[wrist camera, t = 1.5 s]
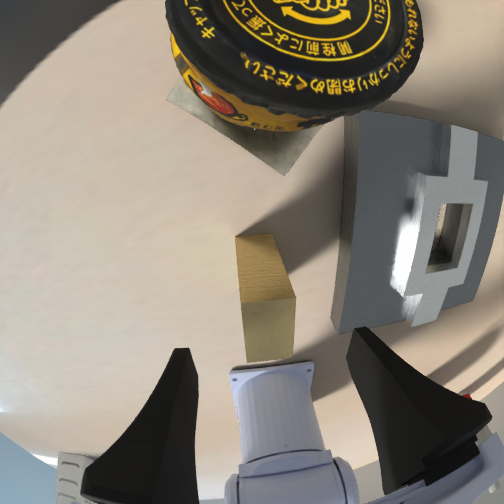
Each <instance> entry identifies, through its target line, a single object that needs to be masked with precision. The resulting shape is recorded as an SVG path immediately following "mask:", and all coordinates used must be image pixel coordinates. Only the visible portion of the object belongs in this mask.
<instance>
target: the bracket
mask: <svg viewBox="0 0 504 504" xmlns="http://www.w3.org/2000/svg"><path fill="white" fill-rule="evenodd" d="M477 137H478V132H476V131H473V130H470V129H466V128H462V127H459V126H455V125H451V124H445V123H442V126H441V149H440V163H439V173H428V172H417V181H416V191H415V199H414V206H413V213H412V220H411V226H410V232H409V237H408V243H407V248H406V253H405V257H404V262H403V266H402V271H401V275H400V279H399V283H398V287H397V291H398V292H399V294H400V295H401V296H402V297H403V298H404V297H409V296H413V295H414V296H413V299H412V302H411V306H410V309H409V312H408V315H407V318H406V321H407V322H408V324H409V325H410V327H414V326H418V325H421V324H425V323H428V322H432V321H435V320H436V319H437V317H438V314H439V312H440V309H441V307H442V304H443V301H444V299H445V296H446V293H447V290H448V288H449V287H453V286H457V285H461V284H463V283H464V280H465V277H466V274H467V271H468V267H469V264H470V261H471V258H472V254H473V251H474V247H475V243H476V240H477V236H478V231H479V227H480V223H481V218H482V213H483V208H484V203H485V197H486V191H487V185H488V181H486V180H484V179H481V178H478V177H474V173H475V164H476V153H477ZM440 203H464V206H463V211H462V216H461V221H460V226H459V231H458V235H457V239H456V243H455V247H454V251H453V255H452V259H451V262H447V263H442V264H436V265H429V266H427V264H428V260H429V256H430V252H431V248H432V244H433V239H434V234H435V230H436V225H437V219H438V214H439V208H440Z"/></svg>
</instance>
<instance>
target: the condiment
mask: <svg viewBox="0 0 504 504" xmlns="http://www.w3.org/2000/svg"><path fill="white" fill-rule="evenodd" d="M165 7H166V19H167V21H168V24H169V28H170V30H171V37H170V41H171V49H172V53H173V56H174V60H175V62H176V66H177V68H178V69H179V72H180V74H181V75H182V76H181V78H180V79H179V80H178V82H177V83H176V84H175V86H174V87H173V88H172V90H171V91H170V93H169V94H168V96H167V97H166V100H168V101H170V102H171V103H173V104H175V105H177V106H178V107H180V108H182V109H183V110H185V111H187V112H189V113H190V114H192V115H193V116H195V117H197V118H198V119H200V120H202V121H203V122H205V123H206V124H208V125H210V126H211V127H213V128H214V129H216V130H218V131H219V132H221V133H222V134H224V135H225V136H227V137H228V138H230V139H231V140H233V141H234V142H236V143H237V144H239V145H241V146H242V147H243V148H245V149H246V150H248V151H249V152H251V153H252V154H254V155H255V156H256V157H258V158H259V159H261V160H262V161H264V162H265V163H266V164H268V165H269V166H271V167H272V168H273V169H275V170H276V171H278V172H279V173H280V174H282V175H283V176H285V175H286V173H287V172H288V171H289V169H290V168H291V167H292V165H293V164H294V162H295V161H296V160H297V158H298V157H299V156H300V154H301V153H302V152H303V150H304V149H305V148H306V146H307V145H308V144H309V142H310V141H311V140H312V138H313V137H314V136H315V135H316V133H317V132H318V131H319V130H320V128H321V127H322V126H323V124H325V123H328V122H331V121H333V120H334V119H336V118H338V117H341V116H352V115H354V114H357V113H360V112H361V111H362V110H363V109H369V108H373V107H374V106H375V105H377V104H378V103H381V102H383V101H385V100H387V99H388V98H390V97H391V95H392V94H393V93H395V92H396V91H397V90H398V89H399V88H401V87H402V86H403V85H404V83H405V82H406V80H407V79H408V77H409V76H410V75H411V74H412V73H413V71H414V70H415V68H416V65H417V63H418V61H419V58H420V53H421V51H422V49H423V42H424V38H423V29H422V20H421V14H420V10H419V8H418V5H417V2H416V0H166V1H165ZM254 128H255V129H256V130H254Z"/></svg>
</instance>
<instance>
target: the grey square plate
mask: <svg viewBox="0 0 504 504" xmlns="http://www.w3.org/2000/svg"><path fill="white" fill-rule="evenodd" d="M344 121H345V151H344V186H343V205H342V220H341V233H340V245H339V255H338V264H337V273H336V282H335V290H334V297H333V304H332V311H331V320H332V322H333V325H334V327H335V329H336V331H337V333H338V334H342V333H348V332H353V330H354V328H359V327H364V326H366V327H367V328H373V327H377V326H382V325H386V324H391V323H395V322H399V321H403V320H406V318H407V315H408V312H409V309H410V306H411V302H412V299H413V296H414V295H413V296H409V297H404V298H403V297H402V296H401V295H400V294H399V292H398V291H397V287H398V283H399V279H400V275H401V271H402V266H403V262H404V257H405V253H406V248H407V243H408V237H409V232H410V226H411V220H412V213H413V206H414V199H415V191H416V181H417V172H428V173H439V163H440V149H441V126H442V123H440V122H435V121H430V120H426V119H420V118H415V117H410V116H404V115H398V114H391V113H384V112H376V111H367V110H362V111H361V112H360V113H357V114H354V115H352V116H344ZM474 177H478V178H481V179H484V180H486V181H488V185H487V191H486V197H485V203H484V208H483V213H482V218H481V223H480V227H479V231H478V236H477V240H476V243H475V247H474V251H473V254H472V258H471V261H470V264H469V267H468V271H467V274H466V277H465V280H464V283H463V284H461V285H457V286H453V287H449V288H448V290H447V293H446V296H445V299H444V301H443V304H442V307H441V309H440V311H441V310H444V309H448V308H451V307H454V306H458V305H461V304H464V303H467V302H470V301H473V299H474V297H475V294H476V292H477V289H478V287H479V284H480V281H481V278H482V276H483V273H484V270H485V267H486V264H487V261H488V257H489V254H490V251H491V247H492V244H493V240H494V236H495V232H496V228H497V224H498V220H499V215H500V211H501V205H502V200H503V194H504V141H502V140H500V139H497V138H494V137H491V136H488V135H484V134H481V133H478V137H477V153H476V164H475V173H474ZM463 206H464V203H447V206H446V212H445V217H444V223H443V228H442V232H441V237H440V242H439V246H438V250H437V251H433V252H430V256H429V260H428V264H427V266H429V265H436V264H442V263H447V262H451V259H452V255H453V251H454V247H455V243H456V239H457V235H458V231H459V226H460V221H461V216H462V211H463Z"/></svg>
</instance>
